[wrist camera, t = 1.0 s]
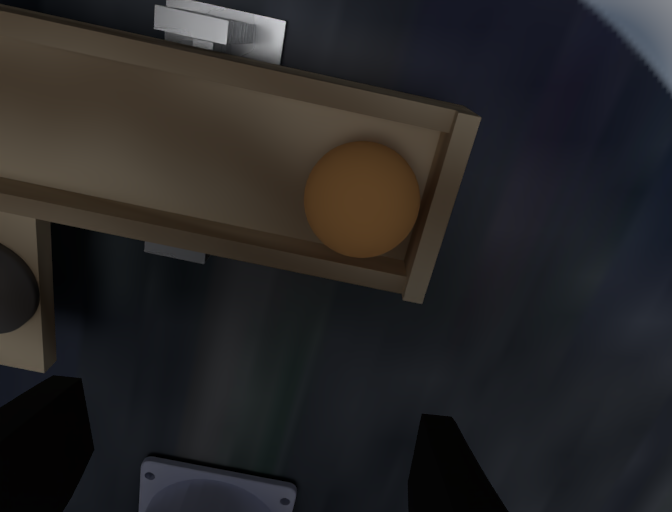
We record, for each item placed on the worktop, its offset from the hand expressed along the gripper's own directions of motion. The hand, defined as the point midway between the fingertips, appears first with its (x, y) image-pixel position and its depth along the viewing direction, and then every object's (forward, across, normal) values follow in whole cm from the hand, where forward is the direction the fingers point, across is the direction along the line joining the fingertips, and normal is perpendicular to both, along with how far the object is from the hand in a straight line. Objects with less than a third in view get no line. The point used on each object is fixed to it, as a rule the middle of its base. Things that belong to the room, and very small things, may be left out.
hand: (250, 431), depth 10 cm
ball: (+7, -2, -4) cm, 8 cm away
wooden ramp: (+10, +4, -1) cm, 11 cm away
